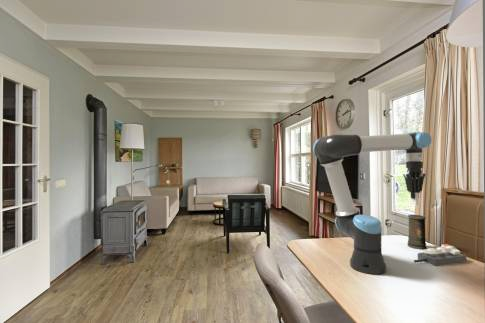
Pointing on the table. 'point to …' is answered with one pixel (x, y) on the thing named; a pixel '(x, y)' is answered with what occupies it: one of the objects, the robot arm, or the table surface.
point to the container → (416, 232)
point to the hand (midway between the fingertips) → (414, 204)
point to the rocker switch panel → (440, 258)
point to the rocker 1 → (432, 251)
